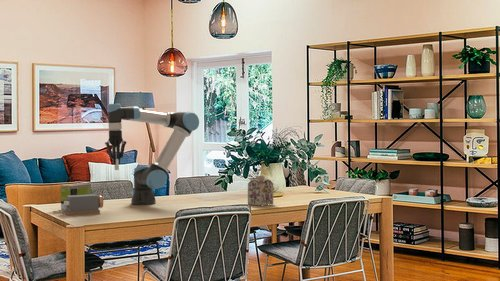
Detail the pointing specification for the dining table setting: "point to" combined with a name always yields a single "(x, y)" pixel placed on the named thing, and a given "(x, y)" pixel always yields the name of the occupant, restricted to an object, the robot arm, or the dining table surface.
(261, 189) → the decorative jar
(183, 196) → the dining table surface
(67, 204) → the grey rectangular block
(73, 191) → the tea box
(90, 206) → the block
